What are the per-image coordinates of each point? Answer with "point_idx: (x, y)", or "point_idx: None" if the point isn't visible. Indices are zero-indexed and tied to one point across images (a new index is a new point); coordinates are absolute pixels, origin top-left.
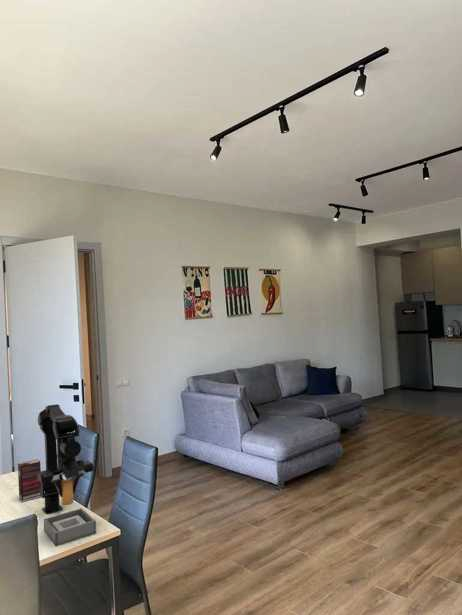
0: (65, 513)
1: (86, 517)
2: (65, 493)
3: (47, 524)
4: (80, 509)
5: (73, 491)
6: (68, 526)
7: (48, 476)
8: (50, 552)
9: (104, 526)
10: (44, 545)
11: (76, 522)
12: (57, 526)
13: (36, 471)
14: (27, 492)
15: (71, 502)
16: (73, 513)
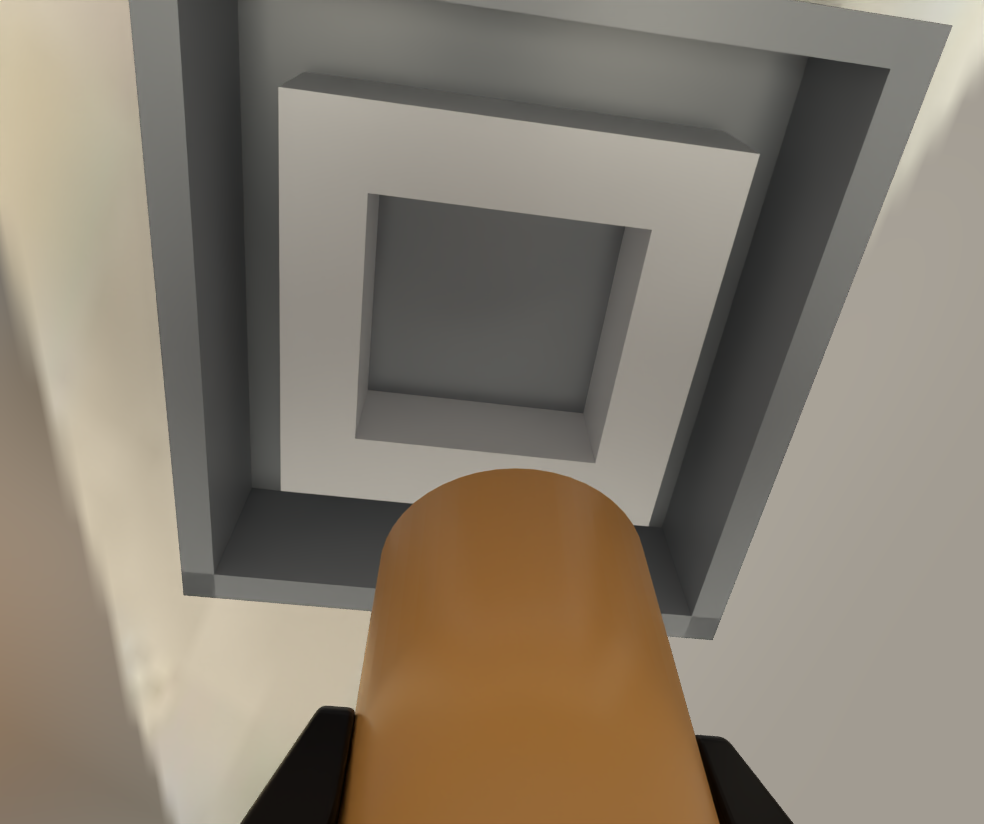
0: None
1: (212, 307)
2: (673, 766)
3: (768, 479)
4: (214, 566)
5: (335, 772)
6: (459, 402)
7: None
8: None
9: (16, 57)
10: (894, 192)
11: (364, 364)
12: (667, 372)
13: None
14: None
15: (471, 494)
16: (324, 561)
